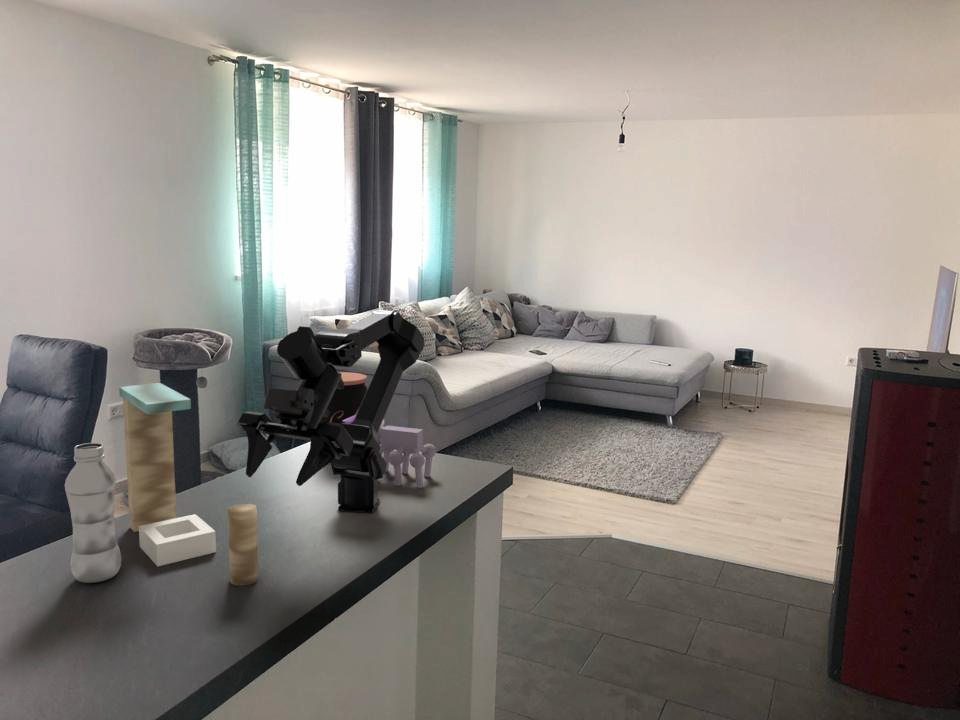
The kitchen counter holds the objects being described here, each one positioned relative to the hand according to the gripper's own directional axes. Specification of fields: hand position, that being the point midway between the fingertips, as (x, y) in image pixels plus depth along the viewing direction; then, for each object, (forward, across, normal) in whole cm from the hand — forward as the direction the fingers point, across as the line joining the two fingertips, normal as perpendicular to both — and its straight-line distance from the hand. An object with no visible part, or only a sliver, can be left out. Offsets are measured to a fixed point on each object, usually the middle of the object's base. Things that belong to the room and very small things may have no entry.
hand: (272, 480), depth 119 cm
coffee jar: (-29, -20, +47) cm, 59 cm away
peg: (+14, 0, +4) cm, 15 cm away
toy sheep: (-21, -4, +40) cm, 46 cm away
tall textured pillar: (+9, -22, +9) cm, 25 cm away
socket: (+11, -16, +7) cm, 21 cm away
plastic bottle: (+21, -19, -2) cm, 28 cm away
